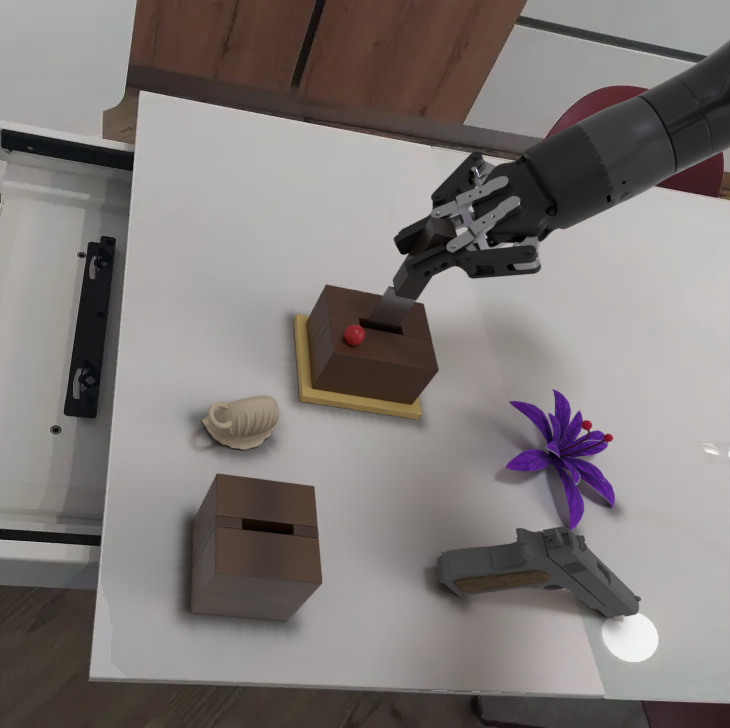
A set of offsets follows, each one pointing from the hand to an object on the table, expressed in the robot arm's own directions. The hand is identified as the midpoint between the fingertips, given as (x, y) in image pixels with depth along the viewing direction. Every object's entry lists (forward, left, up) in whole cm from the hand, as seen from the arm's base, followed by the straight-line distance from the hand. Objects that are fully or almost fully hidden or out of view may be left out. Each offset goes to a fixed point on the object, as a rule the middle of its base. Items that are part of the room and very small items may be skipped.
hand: (403, 259), depth 66 cm
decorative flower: (-25, 0, -16) cm, 30 cm away
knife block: (+2, +26, -16) cm, 30 cm away
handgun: (-23, +16, -16) cm, 33 cm away
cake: (-2, -1, -16) cm, 16 cm away
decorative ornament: (+7, +13, -16) cm, 22 cm away
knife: (-2, -1, -13) cm, 13 cm away
